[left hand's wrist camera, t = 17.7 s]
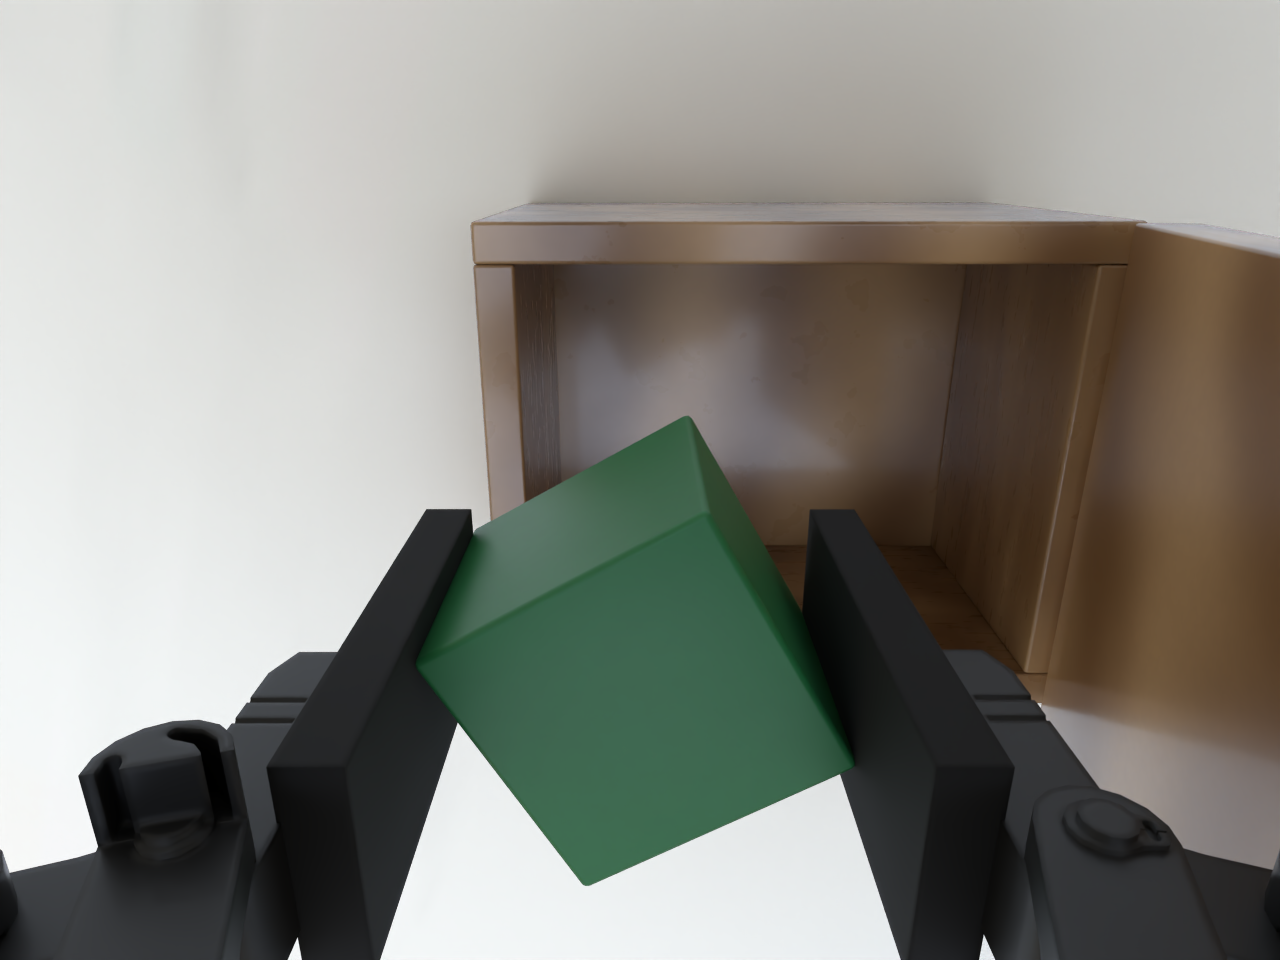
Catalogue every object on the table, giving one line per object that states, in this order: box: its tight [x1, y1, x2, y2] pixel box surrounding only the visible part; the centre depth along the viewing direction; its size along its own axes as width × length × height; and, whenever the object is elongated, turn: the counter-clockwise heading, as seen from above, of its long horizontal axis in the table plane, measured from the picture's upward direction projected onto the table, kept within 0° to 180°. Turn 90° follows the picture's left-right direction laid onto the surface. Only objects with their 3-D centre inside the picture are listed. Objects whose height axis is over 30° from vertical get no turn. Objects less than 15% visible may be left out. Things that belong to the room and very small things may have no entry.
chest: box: [471, 203, 1147, 703], centre depth 24 cm, size 14×12×9 cm
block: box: [415, 416, 855, 886], centre depth 13 cm, size 4×4×4 cm
